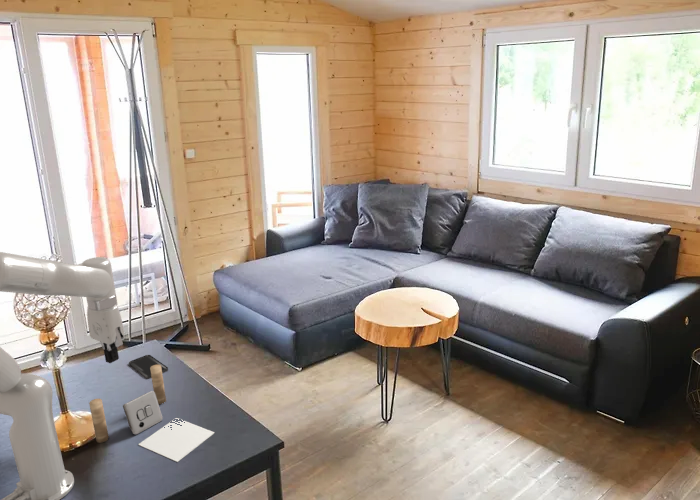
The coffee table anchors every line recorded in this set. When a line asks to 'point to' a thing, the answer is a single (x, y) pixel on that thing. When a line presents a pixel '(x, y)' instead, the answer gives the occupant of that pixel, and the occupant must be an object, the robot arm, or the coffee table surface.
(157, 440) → the mat
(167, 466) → the coffee table surface
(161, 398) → the far oak dowel
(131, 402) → the electrical switch
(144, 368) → the phone
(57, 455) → the robot arm
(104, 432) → the near oak dowel
